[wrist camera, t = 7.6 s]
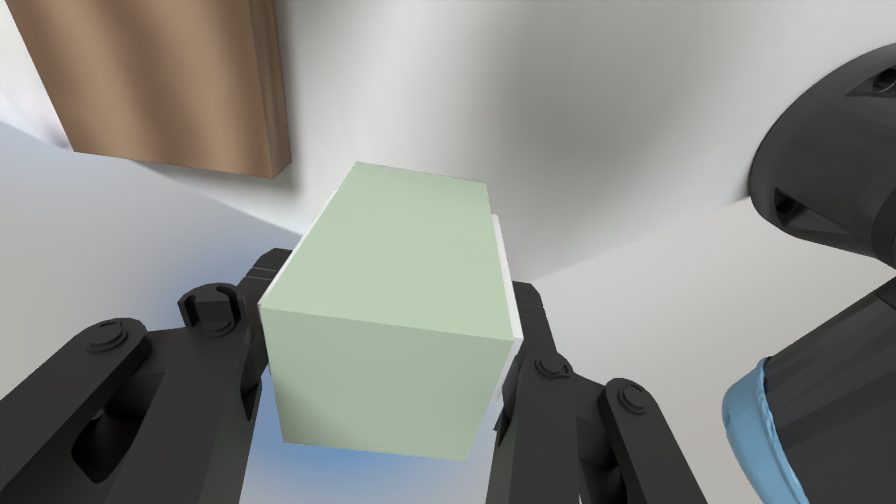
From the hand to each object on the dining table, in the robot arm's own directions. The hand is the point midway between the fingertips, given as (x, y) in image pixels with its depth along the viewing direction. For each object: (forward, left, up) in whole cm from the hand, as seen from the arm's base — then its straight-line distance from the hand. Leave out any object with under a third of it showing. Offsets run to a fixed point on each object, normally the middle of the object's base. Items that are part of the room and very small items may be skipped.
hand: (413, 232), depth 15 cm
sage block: (0, 0, 0) cm, 0 cm away
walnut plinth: (+18, -2, -16) cm, 25 cm away
